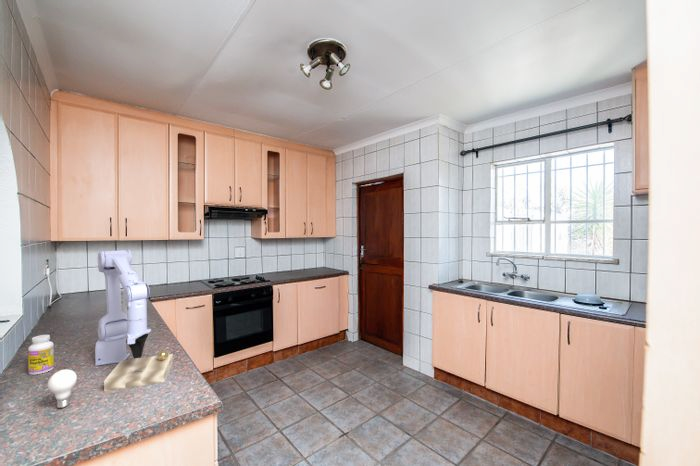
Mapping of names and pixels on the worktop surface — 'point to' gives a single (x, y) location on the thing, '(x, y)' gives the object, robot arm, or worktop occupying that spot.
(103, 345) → the robot arm
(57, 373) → the lightbulb
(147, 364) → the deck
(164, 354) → the brass ball
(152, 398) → the worktop surface
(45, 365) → the supplement bottle
